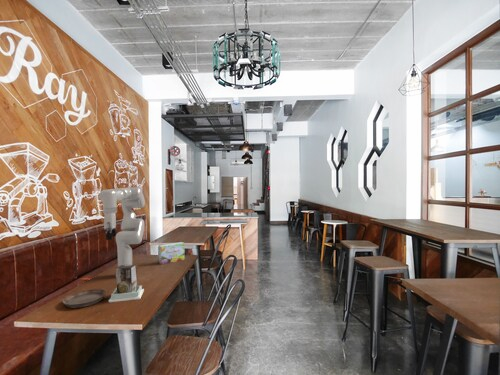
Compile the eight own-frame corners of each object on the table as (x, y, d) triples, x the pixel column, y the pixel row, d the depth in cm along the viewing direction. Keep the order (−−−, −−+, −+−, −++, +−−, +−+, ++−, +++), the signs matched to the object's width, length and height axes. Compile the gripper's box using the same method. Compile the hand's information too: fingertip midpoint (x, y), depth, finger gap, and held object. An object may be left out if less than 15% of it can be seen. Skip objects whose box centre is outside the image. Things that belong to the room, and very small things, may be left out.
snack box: (160, 265, 217) (160, 246, 217) (158, 263, 221) (157, 245, 221) (184, 260, 231) (184, 242, 231) (181, 258, 235) (181, 241, 235)
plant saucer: (52, 309, 140) (52, 303, 140) (82, 293, 160) (82, 288, 160) (89, 310, 137) (89, 304, 137) (114, 294, 158) (114, 289, 158)
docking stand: (115, 293, 159) (115, 287, 159) (143, 290, 162) (143, 284, 162) (108, 302, 146) (108, 296, 146) (139, 299, 150) (139, 292, 150)
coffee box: (137, 292, 158) (136, 264, 158) (132, 296, 151) (131, 267, 151) (122, 292, 158) (121, 264, 158) (116, 296, 152) (115, 267, 152)
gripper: (107, 209, 174) (108, 235, 174) (99, 212, 157) (100, 241, 158) (119, 208, 176) (120, 234, 176) (113, 211, 159) (114, 240, 160)
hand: (111, 237), depth 167 cm, fingers open, 9 cm apart
